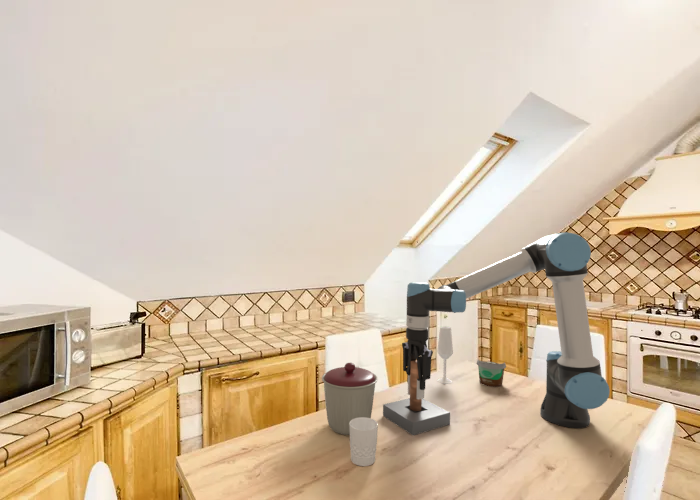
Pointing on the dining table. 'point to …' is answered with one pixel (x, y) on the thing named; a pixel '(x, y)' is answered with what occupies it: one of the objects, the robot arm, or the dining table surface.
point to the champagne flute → (445, 350)
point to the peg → (414, 388)
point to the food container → (491, 373)
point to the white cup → (363, 440)
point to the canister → (348, 395)
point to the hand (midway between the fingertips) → (415, 395)
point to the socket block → (416, 416)
